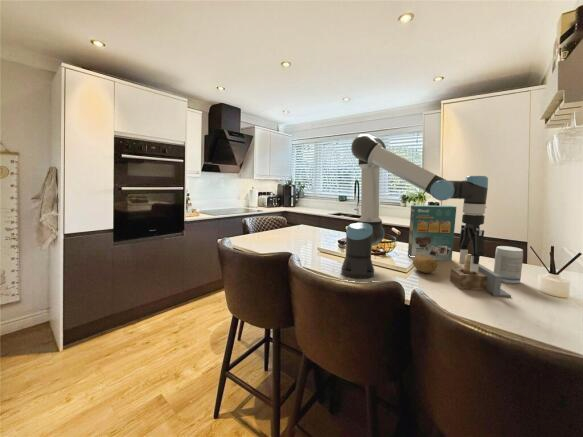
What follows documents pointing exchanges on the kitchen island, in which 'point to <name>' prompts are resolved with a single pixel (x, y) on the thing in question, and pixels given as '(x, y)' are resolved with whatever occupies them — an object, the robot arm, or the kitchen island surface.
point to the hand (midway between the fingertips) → (468, 267)
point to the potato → (424, 263)
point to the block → (468, 280)
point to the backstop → (493, 282)
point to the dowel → (467, 265)
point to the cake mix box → (432, 231)
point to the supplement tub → (508, 263)
